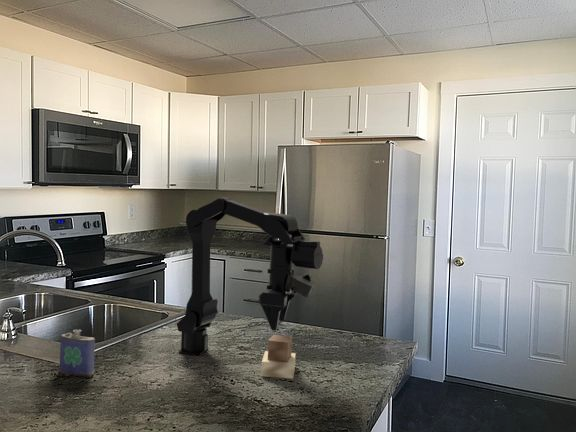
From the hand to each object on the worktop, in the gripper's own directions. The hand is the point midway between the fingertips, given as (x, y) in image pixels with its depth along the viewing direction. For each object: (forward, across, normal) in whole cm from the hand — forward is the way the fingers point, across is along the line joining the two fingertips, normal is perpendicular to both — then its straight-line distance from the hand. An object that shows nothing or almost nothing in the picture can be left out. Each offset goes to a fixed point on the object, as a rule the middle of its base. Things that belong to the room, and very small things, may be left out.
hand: (278, 325), depth 124 cm
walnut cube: (+8, -1, -1) cm, 8 cm away
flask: (+12, -17, +45) cm, 50 cm away
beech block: (+12, 0, -1) cm, 12 cm away
